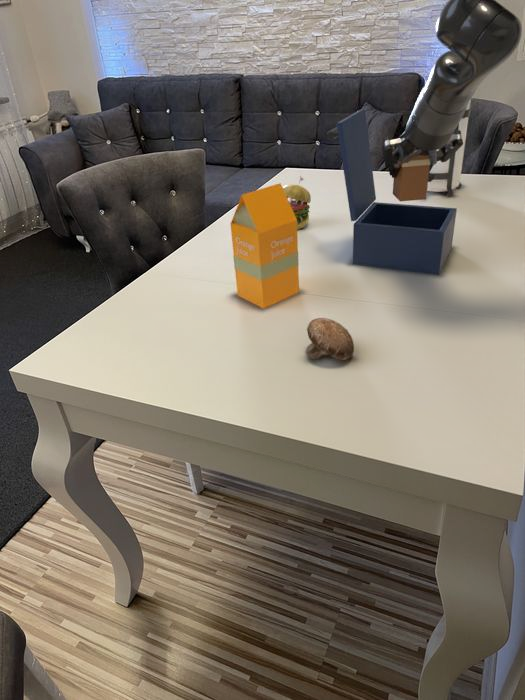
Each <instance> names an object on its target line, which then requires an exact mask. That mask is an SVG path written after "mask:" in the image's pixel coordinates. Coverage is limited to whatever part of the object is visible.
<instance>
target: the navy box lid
mask: <svg viewBox="0 0 525 700" xmlns="http://www.w3.org/2000/svg"><path fill="white" fill-rule="evenodd" d="M326 138H327V140H328V141H333V140H334V139H336V138H338V142H339V149H340V156H341V162H342V170H343V176H344V182H345V189H346V196H347V202H348V209H349V215H350V221H351V222H356V221H357V220H358V219H359V218H360V217H361V216H362V214H363V213H364V212H365V211H366V210H367V209H368V208H369V207H370V206H371V205H372V204H373V203H374V202H376V200H377V196H376V188H375V180H374V172H373V164H372V156H371V155H372V154H371V149H370V147H371V146H370V141H369V131H368V125H367V116H366V109H365V108H363V109H362V108H361V109H358V110H357V111H355V112H354V113H352V114H350V115H348V116H347V117H345V118H343V119H341V120H340V121H338V122H337V123H336V127H335V128H333V129H331V130H329V131H328V132H327V134H326Z"/></svg>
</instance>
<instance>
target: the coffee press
mask: <svg viewBox="0 0 525 700" xmlns="http://www.w3.org/2000/svg"><path fill="white" fill-rule="evenodd" d="M424 87H425V85H423V87H422V88H421V91H422V90H423V88H424ZM421 91H420V92H419V95H420V93H421ZM419 95H418V96H419ZM471 100H472V99H471ZM471 100H470V101H469V103H468V105H467V108H466V110H465V113H464V115H463V117H462V119H461V120H460V122H459V124H458V126H457V127H456V129H455V131H457V130H460V131H461V135H462V140H463V145H462V146H461V147H460V148H459V149H458V150H457V151H456V152H455V153H454V154H453V155H452V156H451V157H450V158H449V159H448V160H447V161H446V162H441V161H437V163H436V164H435V165H433V167H432V169H431V171H429V177H428V187H427V192H434V193H435V192H441V193H443V194H444V196H445V197H447V198H452V197H454V192H453V190H454V189H458V190H459V189H461V188H462V185H463V184H462V183H461V177H462V169H463V164H464V163H463V161H464V156H465V155H464V154H465V148H466V140H467V133H468V132H467V131H468V125H469V117H470V116H471V107H472V106H471V102H472V101H471ZM455 131H454V132H455ZM438 150H439V149H438ZM438 150H436V151H438ZM446 151H447V150H446Z"/></svg>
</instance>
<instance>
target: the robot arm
mask: <svg viewBox="0 0 525 700" xmlns="http://www.w3.org/2000/svg"><path fill="white" fill-rule="evenodd" d="M522 26H523V25H522V22H521V20H520V18H519V17H518V16H517V15H516V14H515V13H514V12H512V11H511V10H509V9H508V8H507V7H505V6H504V5H503V4H501V3H500V2H498V1H497V0H448V1H447V2H446V4H445V5H444V6H443V8H442V9H441V11H440V13H439V15H438V17H437V20H436V25H435V35H436V38H437V40H438V41H439V42H440V44H441V45H443V46H444V47H445V48H446V49H447V50H449V51H446V52H444V53H442V54H441V55H440V56H439V57H438V58H437V59H436V60H435V63H434V64H433V67H432V68H431V70H430V73H429V76H428V77H427V80H426V83H425V84H424V86H425V87H424V86H423V87H424V88H423V87H422V89H423V90H422V89H421V91H420V92H421V93H420V92H419V94H420V95H418V96H417V99H416V101H415V103H414V106H413V107H412V111H411V113H410V115H409V118H408V120H407V122H406V126H405V130H404V132H403V133H402V134H400V135H399V137H398V138H394V139H393V138H392V139H391V136H384V137H383V139H382V157H383V159H384V167H385V168H388V174H389V176H391V178H392V179H394V178H396V177H397V175H398V173H399V171H400V168H401V166H402V164H404V163H408V162H409V161H410V160H411V159H412V158H413V157H415V156H419V155H421V156H426V155H428V154H429V160H430V167H429V171H431V169H432V167H433V165H435V164H436V163H437V161H441V162H446V161H447V160H448V159H449V158H450V157H451V156H452V155H453V154H454V153H455V152H456V151H457V150H458V149H459V148H460V147H461V146H462V145H463V140H462V135H461V131H460V130H457V131H455V129H456V127H457V126H458V124H459V122H460V120H461V119H462V117H463V115H464V113H465V110H466V108H467V105H468V103H469V101H470V100H472V98H473V96H474V95H475V93H476V91H477V89H478V88H479V87H480V85H481V84H482V82H483V81H484V80H485V79H486V78H487V77H488V76H490V75H491V74H492V73H493V72H494V71H496V70H497V69H498V68H500V66H502V65H503V64H504V63H505V62H506V61H507V60H508V59H509V58H510V57H511V56H512V55H513V54H514V52H515V51H516V50H517V48H518V46H519V44H520V43H521V40H522V35H523V27H522ZM454 131H455V132H454ZM438 149H439V150H438ZM436 150H438V151H436ZM446 150H447V151H446ZM399 156H400V157H399Z"/></svg>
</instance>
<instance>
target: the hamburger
mask: <svg viewBox="0 0 525 700" xmlns="http://www.w3.org/2000/svg"><path fill="white" fill-rule="evenodd" d="M302 181H305V178H304V177H302V176H301V175H300V176H299V183H298V184H294V183H292V184H291V183H290V184H286V185H282V188H283V190H284V192H285V194H286V197H287V199H288V201H289V203H290V206H291V208H292V210H293V212H294V214H295V217H296V219H297V231H299V230H301V229H302V228H304V227H305V226H306V225H307V224H308V222H309V220H310V215H309V213H310V208H311V206H310V203H311V199H312V197H311V194H310V192H309V190H308V189H307V188H306V187H303V186H302V185H300V182H302ZM289 199H290V200H289Z"/></svg>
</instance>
